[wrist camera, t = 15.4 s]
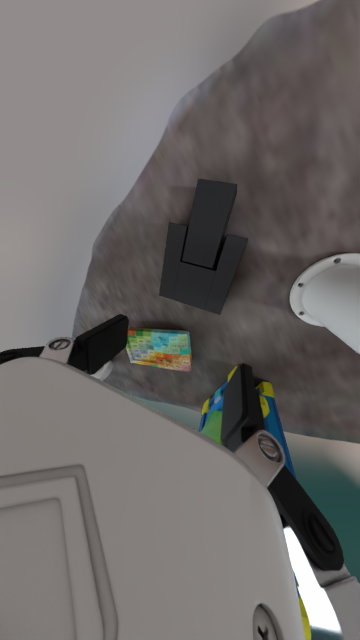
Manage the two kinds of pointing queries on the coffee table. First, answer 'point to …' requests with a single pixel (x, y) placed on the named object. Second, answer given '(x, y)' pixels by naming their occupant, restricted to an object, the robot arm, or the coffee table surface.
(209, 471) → the robot arm
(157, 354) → the puzzle game
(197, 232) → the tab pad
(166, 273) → the notch pad
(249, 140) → the coffee table surface
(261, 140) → the coffee table surface
